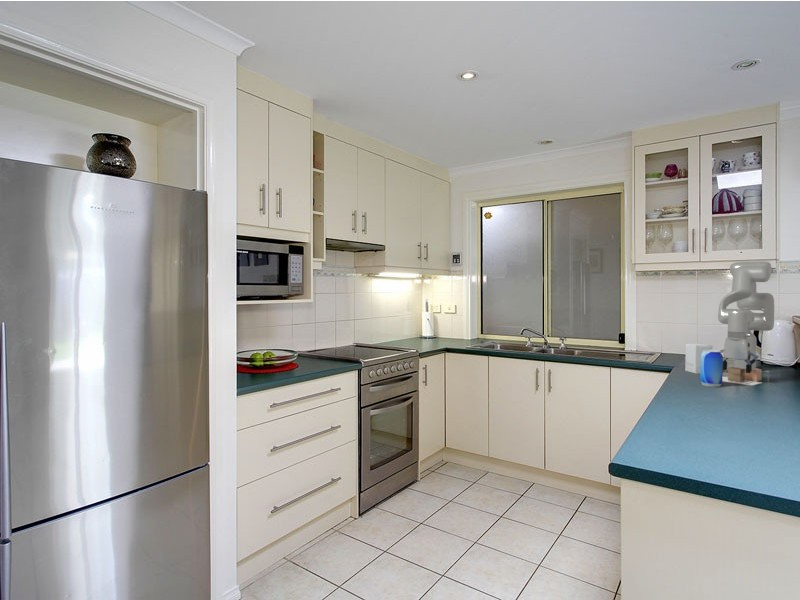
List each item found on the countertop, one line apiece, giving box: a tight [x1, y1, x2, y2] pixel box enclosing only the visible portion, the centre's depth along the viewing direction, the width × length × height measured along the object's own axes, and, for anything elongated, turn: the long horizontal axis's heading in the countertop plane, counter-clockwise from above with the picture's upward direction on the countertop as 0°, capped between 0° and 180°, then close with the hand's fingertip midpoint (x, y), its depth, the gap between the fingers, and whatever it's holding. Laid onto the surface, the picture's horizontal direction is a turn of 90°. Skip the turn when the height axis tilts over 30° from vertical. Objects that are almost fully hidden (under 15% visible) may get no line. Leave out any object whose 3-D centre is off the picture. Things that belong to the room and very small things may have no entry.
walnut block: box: [727, 366, 745, 382], centre depth 217 cm, size 5×5×6 cm
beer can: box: [699, 349, 724, 388], centre depth 208 cm, size 8×8×16 cm
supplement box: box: [684, 343, 713, 374], centre depth 240 cm, size 9×9×15 cm
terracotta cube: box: [745, 368, 763, 382], centre depth 220 cm, size 6×6×6 cm
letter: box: [722, 376, 763, 386], centre depth 218 cm, size 13×17×1 cm
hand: (736, 371), depth 217 cm, fingers open, 9 cm apart
